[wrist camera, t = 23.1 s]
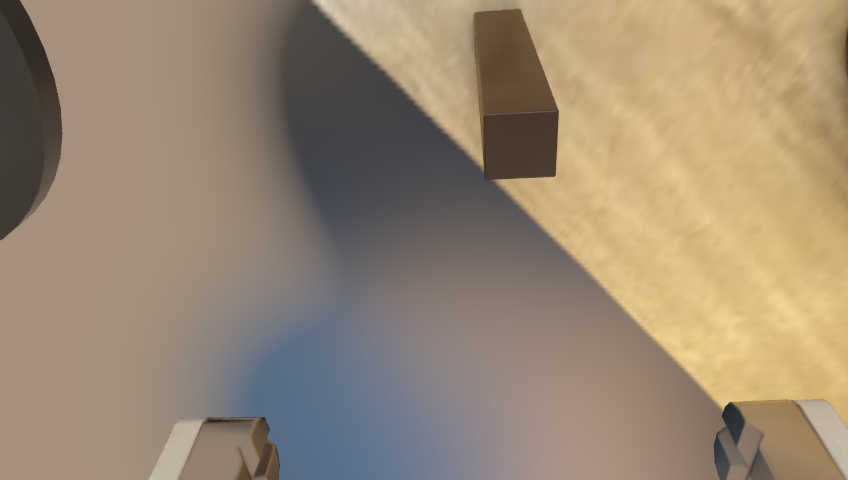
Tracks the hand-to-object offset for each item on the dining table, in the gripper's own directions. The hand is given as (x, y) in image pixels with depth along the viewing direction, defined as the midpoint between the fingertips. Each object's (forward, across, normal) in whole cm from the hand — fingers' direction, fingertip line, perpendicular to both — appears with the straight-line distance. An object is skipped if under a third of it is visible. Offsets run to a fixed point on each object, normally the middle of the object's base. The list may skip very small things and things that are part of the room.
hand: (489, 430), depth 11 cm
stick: (+25, -2, 0) cm, 25 cm away
